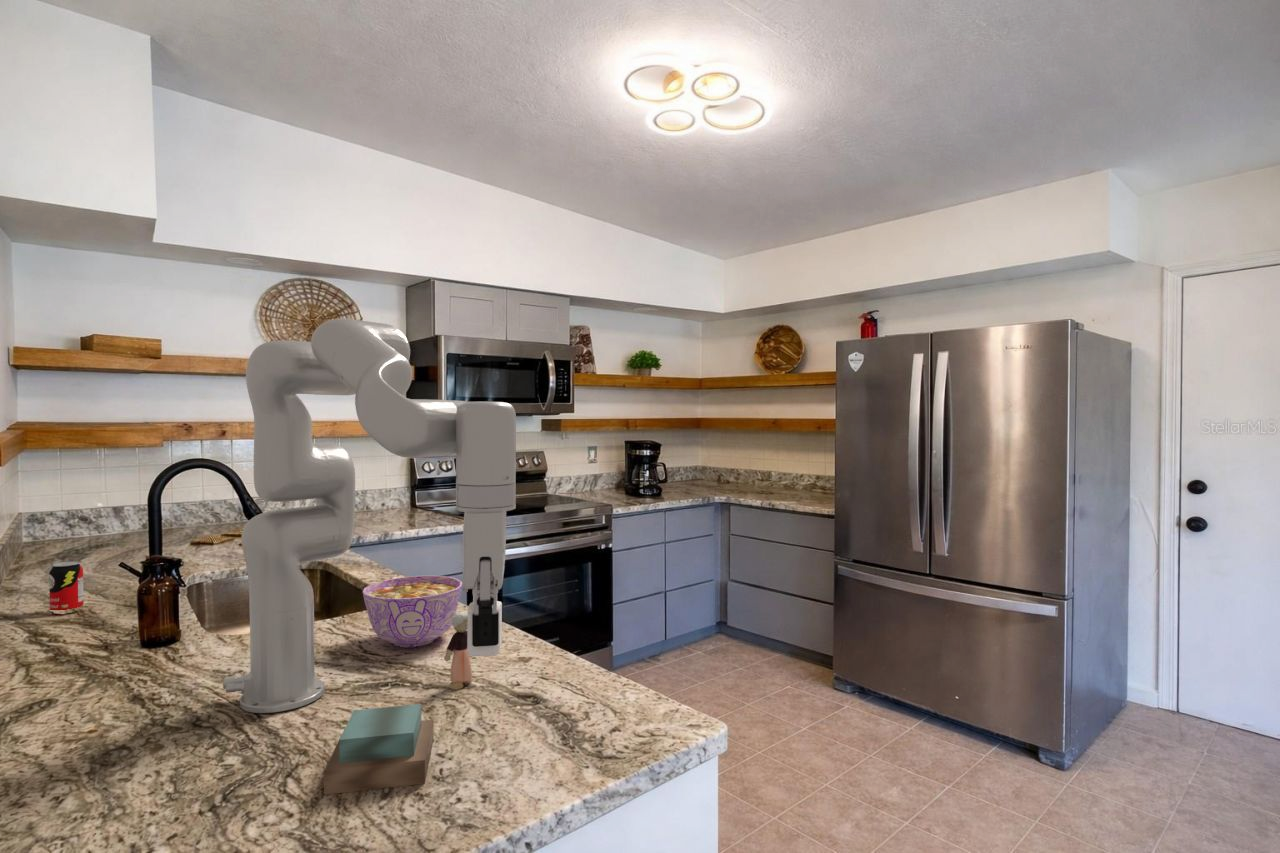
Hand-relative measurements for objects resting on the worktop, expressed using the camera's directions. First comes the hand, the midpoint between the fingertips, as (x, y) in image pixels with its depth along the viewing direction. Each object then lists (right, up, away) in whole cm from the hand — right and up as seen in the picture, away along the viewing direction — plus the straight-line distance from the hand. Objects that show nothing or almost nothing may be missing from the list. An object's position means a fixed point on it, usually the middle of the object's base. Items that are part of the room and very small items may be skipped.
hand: (485, 637), depth 87 cm
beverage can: (-121, -19, +79) cm, 145 cm away
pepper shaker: (0, -2, 0) cm, 2 cm away
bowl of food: (-28, -18, +55) cm, 65 cm away
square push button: (-15, -19, +4) cm, 24 cm away
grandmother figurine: (-12, -18, +32) cm, 39 cm away
